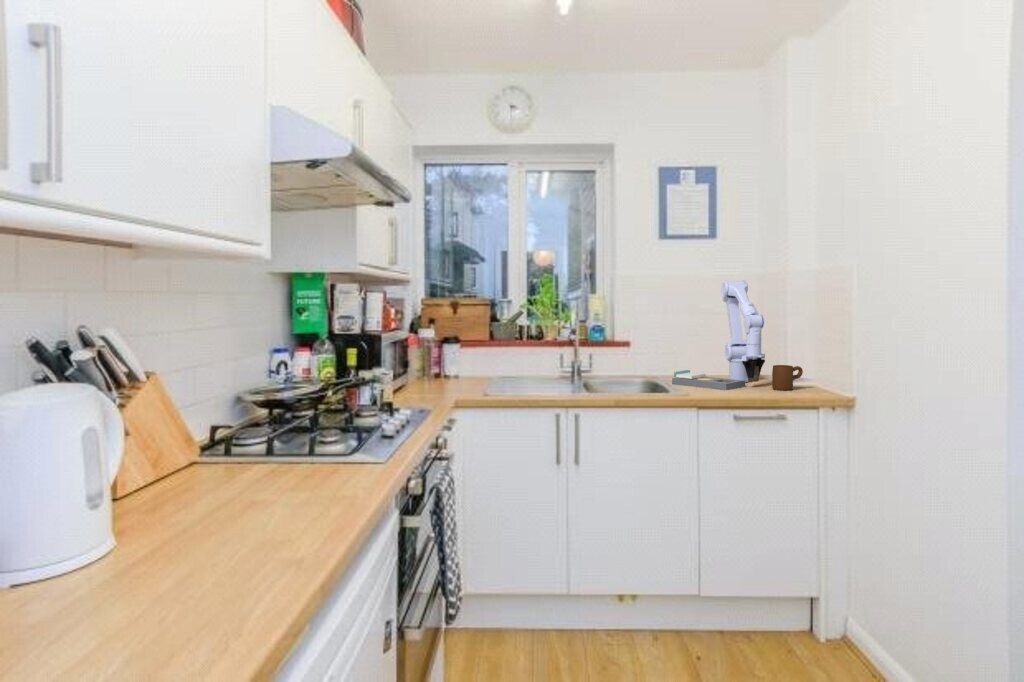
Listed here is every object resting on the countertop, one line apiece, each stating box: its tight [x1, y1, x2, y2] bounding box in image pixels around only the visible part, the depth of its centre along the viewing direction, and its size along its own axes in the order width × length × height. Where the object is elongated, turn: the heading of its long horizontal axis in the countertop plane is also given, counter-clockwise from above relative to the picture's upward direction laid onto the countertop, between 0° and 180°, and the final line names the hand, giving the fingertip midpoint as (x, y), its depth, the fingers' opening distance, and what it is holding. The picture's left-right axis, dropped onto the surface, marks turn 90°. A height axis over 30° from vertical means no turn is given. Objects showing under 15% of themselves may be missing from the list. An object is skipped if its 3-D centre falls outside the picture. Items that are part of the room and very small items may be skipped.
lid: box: [673, 369, 707, 379], centre depth 275 cm, size 10×9×2 cm
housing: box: [671, 376, 746, 391], centre depth 268 cm, size 14×26×3 cm, turn 39°
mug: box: [771, 364, 804, 392], centre depth 252 cm, size 12×8×9 cm, turn 96°
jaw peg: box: [748, 366, 760, 383], centre depth 261 cm, size 4×4×6 cm
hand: (753, 377), depth 261 cm, fingers closed on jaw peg, 4 cm apart
